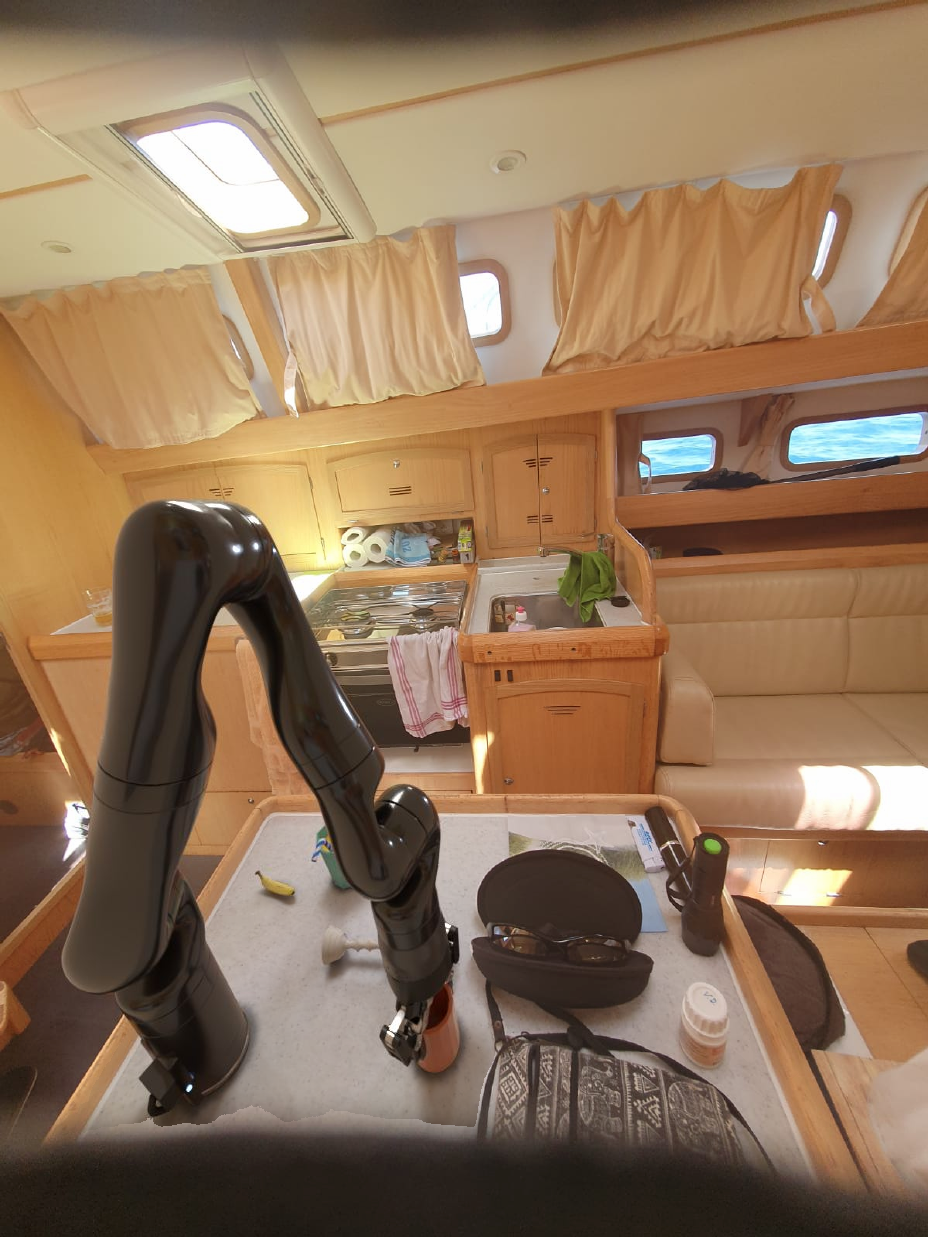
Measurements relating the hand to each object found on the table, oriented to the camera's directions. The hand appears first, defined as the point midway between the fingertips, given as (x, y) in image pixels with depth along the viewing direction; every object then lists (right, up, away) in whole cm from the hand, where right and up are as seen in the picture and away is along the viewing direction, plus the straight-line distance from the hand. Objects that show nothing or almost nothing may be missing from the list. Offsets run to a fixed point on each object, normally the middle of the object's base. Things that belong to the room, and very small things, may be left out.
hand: (432, 1022), depth 57 cm
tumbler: (0, -4, +2) cm, 5 cm away
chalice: (-17, +1, +12) cm, 21 cm away
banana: (-29, +2, +24) cm, 38 cm away
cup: (-17, +4, +25) cm, 30 cm away
